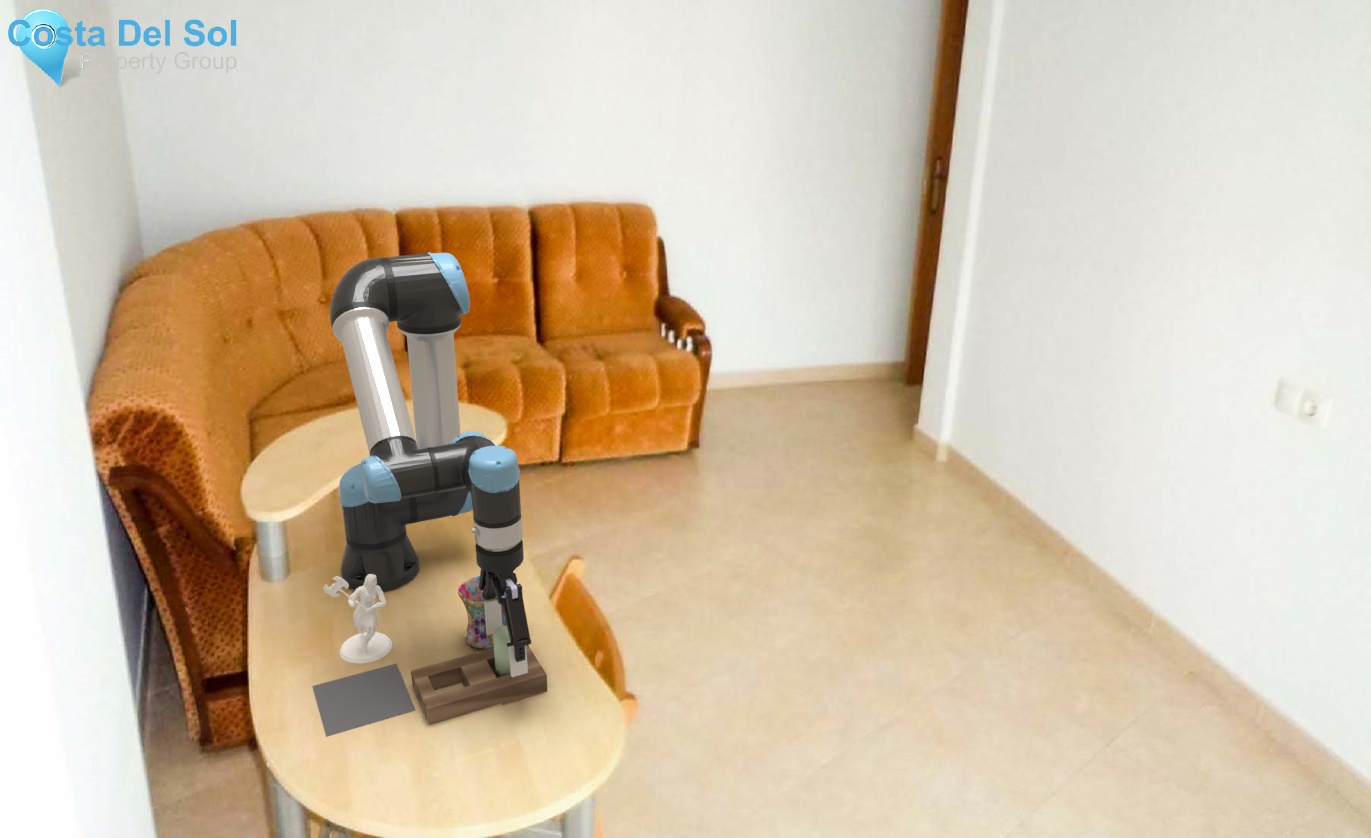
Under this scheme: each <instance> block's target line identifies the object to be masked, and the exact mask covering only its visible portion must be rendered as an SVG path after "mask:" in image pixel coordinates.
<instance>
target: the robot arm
mask: <svg viewBox="0 0 1371 838" xmlns="http://www.w3.org/2000/svg"><path fill="white" fill-rule="evenodd" d="M468 288H469V287H468V284H467V281H466V278H465V275H464V272H463V270H462V267H461V265H460V263H459V260H458V259H457V258H456V257H455V256H454V255H453V254H451V253H449V252H426V253H423V252H422V253H414V254H405V255H396V256H387V257H371V258H367V259H365V260H362V261H359V262H358V263H356V264H355V265H353V266H352V267H350V268H349V269H348V270H347V271H346V272H345V273H344V275H343V276H342V277H341V278H340V280H339V282H338V283H337V285H336V286H335V289H334V291H333V293H332V296H331V297H332V298H331V300H330V307H329V319H330V320H329V321H330V326H331V329H332V333H333V335H334V337H335V339H337V340H338V341H339V342H341V344H342V348H343V352H344V356H345V360H346V364H347V368H348V372H349V377H350V380H351V385H352V389H353V392H354V395H355V397H354V398H355V400H356V401H355V402H356V405H357V408H358V411H359V416H360V417H359V418H360V422H361V425H362V429H363V433H364V438H365V441H366V445H367V448H368V453H369V456H368V457H364V458H363V459H362V460H361V461H360V463H358V464H356V465H354V466H352V467H350V468H349V469H348V470H346V472H344V473H343V474H342V476H341V478H340V480H339V483H338V484H339V504H340V505H341V510H342V511H341V512H342V519H343V527H344V535H345V542H346V543H345V548H344V552H343V556H342V562H341V565H340V575H341V576H340V577H341V578H343V579H344V580H345V581H346V582H347V583H348V584H349V587H348V588H347V589H350V590H352V591H355V590H356V589H357V588H359V587H360V586H363V585H364V582H365V578H366V576H367V575H368V574H374V575H376V578H377V584H376V585H378V586H380V588H381V590H382V591H383V593H384V592H388V591H392V590H395V589H398V588H401V587H404V586H405V585H407V584H409V583H410V582H412V581H413V580H415V578H416V577H417V576H418V574H419V572H420V561H419V556H418V554H417V552H416V549H415V548H414V546H413V544H412V542H411V540H410V538H409V536H408V533H407V525H409V524H410V525H411V524H417V523H421V522H427V521H430V520H437V519H442V518H447V517H451V516H452V517H456V516H458V515H462V514H464V513H465V514H466V513H470V512H471V511H472V515H473V516H472V517H473V524H474V526H473V527H471V528H470V530H471V534H474V540H475V556H476V557H475V559H476V565H477V566H478V567H479V568H480V574H479V576H480V582H479V589H480V590H481V591H482V590H483V593H482V594H483V595H482V596H483V598H484V599H486V601H484V607H485V621H486V633H487V635H490V634H493V631H494V630H495V629H496V628H498V627H501V626H502V612H501V605H502V608H503V613H504V617H505V621H506V625H507V629H508V633H509V637H510V641H508V643H507V647H509V659H510V674H511V676H512V677H515V676H519V675H522V674H525V673H528V666H527V649H526V645H532V640H531V635H530V631H529V630H530V629H529V624H528V623H529V622H528V619H527V614H526V609H525V602H524V598H523V596H524V595H523V585H522V584H521V583H518V578H517V574H516V572H515V570H516V569H517V568H518V567H520V566H521V565H522V564H523V562H524V558H525V556H524V542H523V538H524V531H523V517H522V507H521V485H520V483H521V482H520V478H521V477H520V476H521V470H520V467H519V461H518V455H517V453H516V452H515V451H514V450H513V449H511V448H507V447H506V446H504V445H496V444H495V443H494V442H493V441H492V440H491V439H490V438H488V437H487V436H486V435H485V434H483V433H481V432H478V431H471V430H470V431H465V432H462V433H461V423H460V422H461V421H460V408H459V407H460V406H459V393H458V379H457V377H458V376H457V364H456V350H455V336H454V335H455V332H456V331H458V329H460V327H461V325H462V317H461V315H462V316H463V315H466V314H468V313H469V312H470V309H471V307H470V306H471V300H470V294H469V289H468ZM392 322H394V323H395V322H396V327H397V330H398V331H400V332H401V333H402V334H403V335H405V336H406V340H407V341H406V342H407V354H408V364H409V373H410V385H411V386H410V387H411V397H412V406H413V407H412V409H413V421H414V429H415V430H414V429H413V424H412V422H411V418H410V417H411V416H410V415H409V411H408V408H407V404H406V401H405V396H404V393H403V389H402V386H401V381H400V379H399V375H398V371H397V367H396V365H395V361H394V360H395V359H394V356H393V353H392V350H391V349H392V348H391V346H390V342H389V339H388V335H387V331H388V329H389V327H390V323H392ZM414 432H415V433H414ZM366 585H367V584H366ZM495 596H496V597H497V598H496V597H495ZM501 596H506V598H502V597H501Z"/></svg>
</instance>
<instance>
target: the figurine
mask: <svg viewBox="0 0 1371 838" xmlns="http://www.w3.org/2000/svg"><path fill="white" fill-rule="evenodd" d="M332 580H334V581H335V582H333V583H331V586H328V584H325V585H324V586H323V590H324V592H325V593H326V594H328V595H329V596H330V597H332V598H338V597H339V596H341V595H340V593H342V594H343V595H345V596H346V597H348V599H347V602H348V603H347V604H348V605H349V607H351V608H356V609H355V610H354V611H353V624H354V625H353V630H354V631H355V629H356V628H358V633H357V634H354V635H352V636H350V637H349V638H348V639H346V640H345V641H344V643H342V645H341V647H340V649H339V656H340V658H342V660H343V661H346V662H347V663H350V664H351V663H352V664H367V663H371V662H375V661H378V660H380V659H382V658H384V657H385V656H386V655H387V654H389V653H390V651H391V649H393V641H392V640H391V639H390V637H388V636H387V635H386V634H384V633H383V632H379V631H378V630H379V623H378V613H377V610H378V609H382V608H383V607H384V606H386V605H387V602H386V598H385V595H384V592H383V591H382V590H381V588H380V586H378V585H376V584H377V578H376V575H374V574H368V575H367V576H366V578H365V582H364V585H363V586H360V587H359V588H357V589H356V590H354V592H353V593H352V594H350V595H349V593H347V592H345V591H344V590H343V589H342V588H343V587H344V588H345V590H348V589H349V588H348V587H349V584H348V583H347V582H346V581H345V580H344V579H343V578H342V576H337V575H335V576H334V577H332ZM366 584H367V585H366ZM338 591H340V593H337V592H338ZM358 597H359V598H360V601H358V600H357V599H358ZM377 597H378V600H379V601H378V602H376V603H374V600H375V599H376V598H377Z"/></svg>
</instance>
